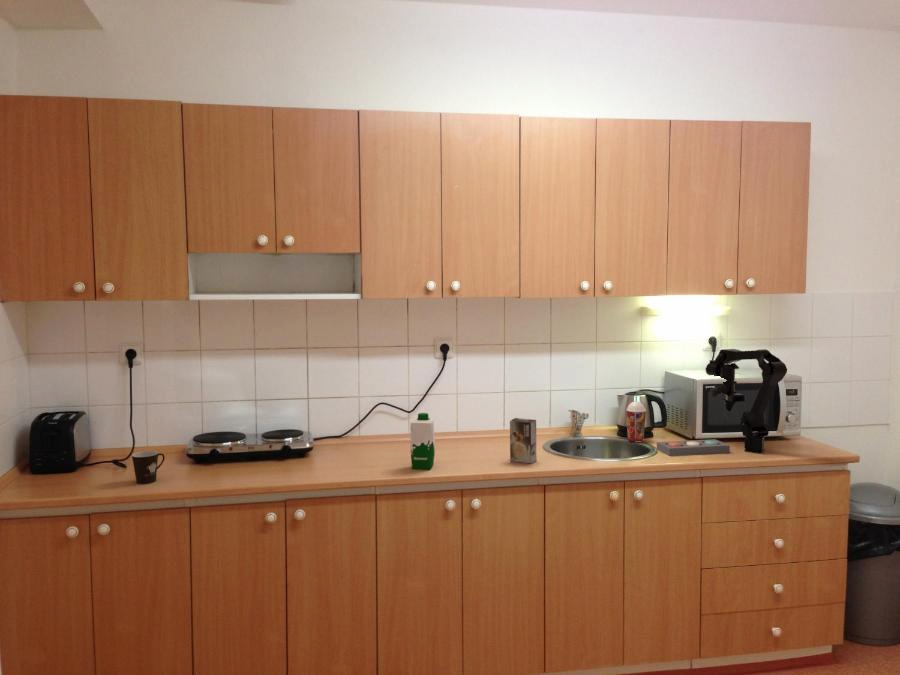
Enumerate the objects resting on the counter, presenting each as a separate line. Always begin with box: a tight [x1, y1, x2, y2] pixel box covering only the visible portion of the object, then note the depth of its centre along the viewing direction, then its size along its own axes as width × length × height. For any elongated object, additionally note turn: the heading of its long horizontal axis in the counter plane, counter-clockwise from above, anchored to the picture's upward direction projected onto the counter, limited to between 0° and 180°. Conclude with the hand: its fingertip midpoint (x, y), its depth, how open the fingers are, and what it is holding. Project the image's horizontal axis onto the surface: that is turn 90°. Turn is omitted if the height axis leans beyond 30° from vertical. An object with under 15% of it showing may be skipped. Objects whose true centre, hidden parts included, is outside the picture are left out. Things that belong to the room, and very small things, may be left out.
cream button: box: [686, 440, 699, 446], centre depth 287 cm, size 5×5×2 cm
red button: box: [668, 441, 681, 447], centre depth 286 cm, size 5×5×2 cm
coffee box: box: [509, 417, 538, 464], centre depth 274 cm, size 9×6×16 cm
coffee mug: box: [131, 450, 166, 485], centre depth 251 cm, size 12×9×10 cm
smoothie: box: [625, 394, 647, 442], centre depth 305 cm, size 8×8×20 cm
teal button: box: [705, 441, 718, 445], centre depth 289 cm, size 5×5×2 cm
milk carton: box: [409, 412, 436, 471], centre depth 266 cm, size 9×9×20 cm
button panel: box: [656, 438, 731, 457], centre depth 288 cm, size 11×26×3 cm, turn 99°
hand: (726, 414), depth 301 cm, fingers closed
